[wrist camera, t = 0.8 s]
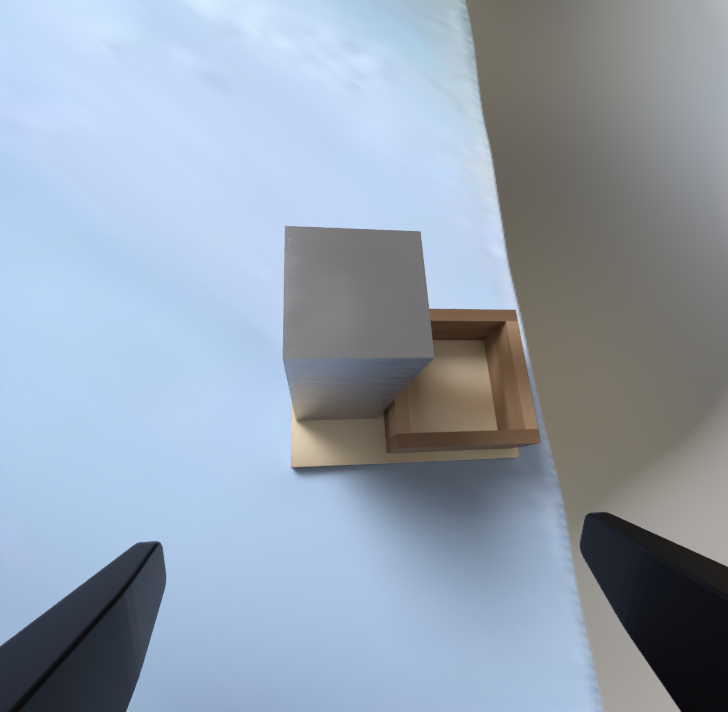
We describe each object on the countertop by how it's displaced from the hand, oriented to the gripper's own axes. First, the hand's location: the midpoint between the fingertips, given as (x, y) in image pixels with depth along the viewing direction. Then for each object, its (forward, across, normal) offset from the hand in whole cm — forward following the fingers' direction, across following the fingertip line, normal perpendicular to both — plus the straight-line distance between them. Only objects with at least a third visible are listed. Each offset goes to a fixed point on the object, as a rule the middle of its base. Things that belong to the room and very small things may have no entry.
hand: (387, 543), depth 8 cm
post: (+15, 0, +1) cm, 15 cm away
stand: (+15, -4, +2) cm, 16 cm away
